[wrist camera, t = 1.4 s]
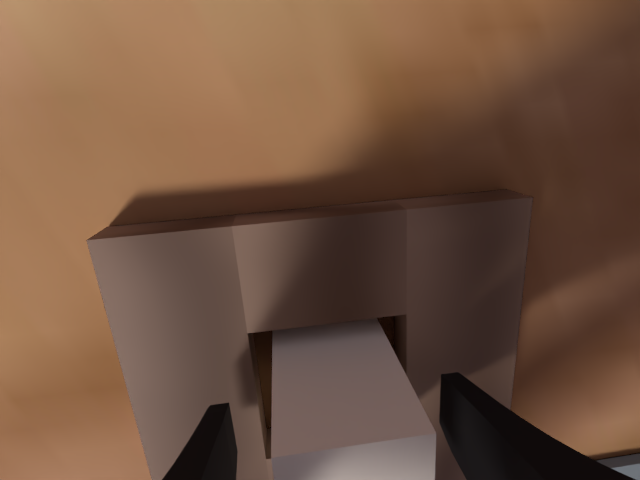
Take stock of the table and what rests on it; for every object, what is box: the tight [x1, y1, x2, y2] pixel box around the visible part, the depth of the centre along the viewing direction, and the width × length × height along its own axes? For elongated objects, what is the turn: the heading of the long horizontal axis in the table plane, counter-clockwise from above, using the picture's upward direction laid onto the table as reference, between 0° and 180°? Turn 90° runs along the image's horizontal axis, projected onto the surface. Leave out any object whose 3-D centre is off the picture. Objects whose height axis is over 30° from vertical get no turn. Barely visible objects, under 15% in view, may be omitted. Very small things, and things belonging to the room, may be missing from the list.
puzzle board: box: [87, 189, 533, 480], centre depth 15 cm, size 14×13×2 cm
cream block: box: [271, 318, 436, 480], centre depth 13 cm, size 4×4×6 cm
